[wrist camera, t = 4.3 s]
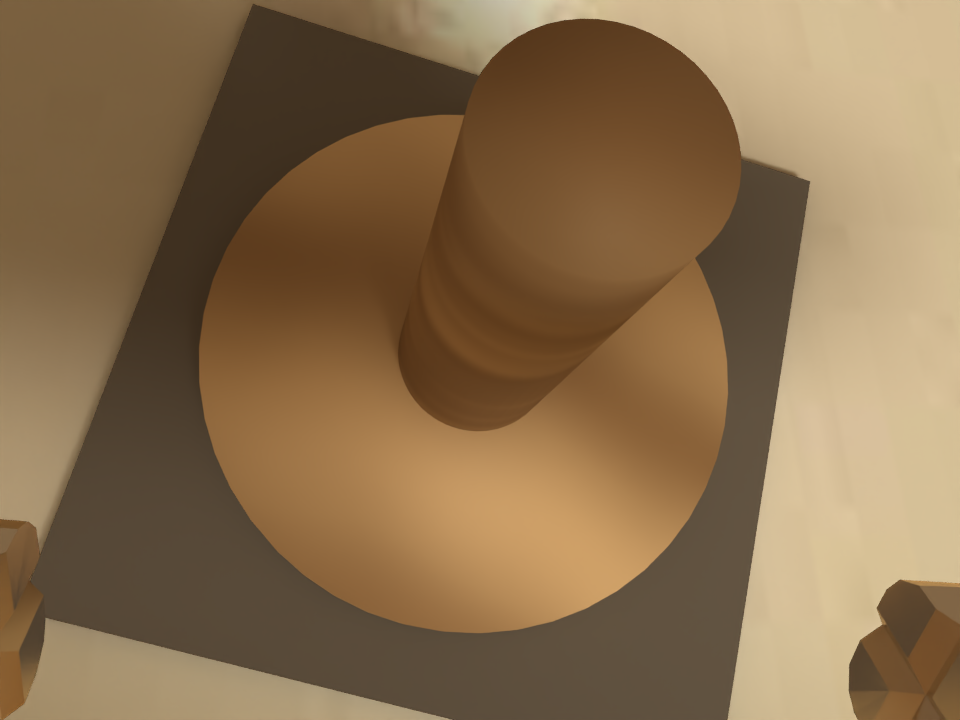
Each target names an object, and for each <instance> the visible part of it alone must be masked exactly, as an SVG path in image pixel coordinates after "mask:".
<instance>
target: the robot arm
mask: <svg viewBox="0 0 960 720" xmlns="http://www.w3.org/2000/svg"><path fill="white" fill-rule="evenodd" d="M39 558H40V553H39V546H38V539H37V532H36V528H35V527H34V526H33V525H32V524H30V523H29V522H27V521H16V520H4V519H0V720H3V719H4V718H6V717H7V716H8V715H10V714H11V713H12V712H14V711H15V710H16V709H18V708H19V707H20V706H22V705H23V704H24V703H25V701H26V698H27V696H28V693H29V691H30V688H31V686H32V683H33V681H34V678H35V676H36V672H37V668H38V664H39V660H40V655H41V651H42V647H43V642H44V630H45V605H44V595H43V594H42V593H41V592H40V591H39V590H38V589H37V588H36V587H35V586H34V585H33V584H32V583H31V582H30V581H29V579H30V577H31V575H32V573H33V571H34V569H35V567H36V564H37V562H38V560H39ZM877 611H878V613H879V616H880V619H881V622H882V625H881V626H880V627H878V628H877V629H876V630H874V631H873V632H871V633H870V634H868V635H867V636H865V637H864V638H863V639H861V640H860V642H859V644H858V646H857V649H856V651H855V653H854V655H853V658H852V660H851V662H850V664H849V694H850V698H851V702H852V706H853V710H854V713H855V715H856V717H857V719H858V720H960V583H947V582H930V581H913V580H899V581H898V582H896V583H895V584H894V585H892V586H891V587H889V588H888V589H887V590H886V592H885V594H884V596H883V597H882V599H881V601H880V603H879V605H878V607H877Z"/></svg>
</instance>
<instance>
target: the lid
mask: <svg viewBox="0 0 960 720" xmlns="http://www.w3.org/2000/svg"><path fill="white" fill-rule="evenodd" d="M740 178H741V152H740V146H739V140H738V135H737V132H736V129H735V125H734V122H733V119H732V117H731V115H730V112H729V110H728V108H727V106H726V104H725V102H724V100H723V99H722V97H721V95H720V94H719V92H718V90H717V89H716V87H715V86H714V85H713V84H712V82H711V81H710V80H709V78H708V77H707V76H706V75H705V74H704V73H703V71H702V70H701V69H700V68H699V67H698V66H697V65H696V64H695V63H694V62H693V61H691V60H690V59H689V58H688V57H687V56H686V55H684V54H683V53H682V52H681V51H679V50H678V49H676V48H675V47H673V46H672V45H670V44H669V43H667V42H666V41H664V40H662V39H660V38H658V37H656V36H654V35H653V34H651V33H648V32H646V31H643V30H641V29H638V28H636V27H633V26H629V25H625V24H622V23H618V22H613V21H606V20H599V19H574V20H564V21H559V22H554V23H550V24H546V25H543V26H541V27H538V28H535V29H532V30H530V31H528V32H526V33H525V34H523V35H521V36H519V37H517V38H516V39H514V40H513V41H511V42H510V43H509V44H507V45H506V46H504V47H503V48H502V49H501V50H500V51H499V52H498V53H497V54H496V55H495V56H494V57H493V58H492V59H491V60H490V62H489V63H488V64H487V66H486V67H485V68H484V69H483V71H482V72H481V74H480V76H479V78H478V80H477V81H476V83H475V85H474V88H473V90H472V93H471V96H470V98H469V101H468V105H467V108H466V111H465V115H433V116H424V117H415V118H407V119H403V120H398V121H394V122H390V123H386V124H381V125H377V126H374V127H371V128H369V129H366V130H363V131H361V132H358V133H355V134H353V135H350V136H347V137H345V138H343V139H341V140H339V141H337V142H335V143H333V144H332V145H330V146H328V147H326V148H324V149H322V150H320V151H318V152H316V153H315V154H314V155H312V156H311V157H309V158H308V159H307V160H305V161H304V162H302V163H301V164H299V165H298V166H297V167H295V168H294V169H292V170H291V171H290V172H289V173H287V174H286V175H285V176H284V177H283V178H282V179H281V180H280V181H279V182H278V183H277V184H276V185H274V186H273V187H272V188H271V189H270V190H269V191H268V192H267V193H266V194H265V195H264V196H263V198H262V199H261V200H260V201H259V202H258V204H257V205H256V206H255V207H254V208H253V210H252V211H251V212H250V213H249V215H248V216H247V217H246V218H245V219H244V221H243V223H242V224H241V226H240V228H239V229H238V231H237V232H236V234H235V236H234V237H233V239H232V240H231V242H230V244H229V245H228V247H227V249H226V251H225V253H224V256H223V258H222V260H221V263H220V265H219V267H218V269H217V272H216V274H215V276H214V278H213V282H212V285H211V289H210V292H209V296H208V299H207V303H206V306H205V310H204V315H203V322H202V330H201V337H200V344H199V384H200V391H201V397H202V404H203V411H204V418H205V422H206V425H207V428H208V432H209V435H210V439H211V442H212V445H213V449H214V452H215V455H216V457H217V459H218V462H219V464H220V466H221V468H222V470H223V473H224V475H225V477H226V479H227V481H228V484H229V486H230V488H231V490H232V491H233V493H234V494H235V496H236V498H237V499H238V501H239V502H240V504H241V505H242V507H243V509H244V510H245V512H246V513H247V515H248V516H249V518H250V520H251V521H252V522H253V523H254V524H255V526H256V527H257V528H258V529H259V530H260V531H261V533H262V534H263V535H264V536H265V537H266V539H267V540H268V541H269V542H270V543H271V544H272V546H273V547H274V548H275V549H276V550H277V551H278V552H279V553H280V554H281V555H282V556H283V557H284V558H285V559H286V560H288V561H289V562H290V563H291V564H292V565H293V566H294V567H295V568H296V569H298V570H299V571H300V572H301V573H302V574H303V575H304V576H306V577H307V578H309V579H310V580H312V581H313V582H315V583H316V584H317V585H319V586H320V587H322V588H323V589H325V590H326V591H328V592H329V593H331V594H332V595H334V596H335V597H337V598H339V599H342V600H344V601H346V602H348V603H350V604H352V605H354V606H356V607H358V608H360V609H362V610H364V611H366V612H368V613H371V614H374V615H377V616H380V617H383V618H386V619H389V620H392V621H395V622H398V623H401V624H405V625H410V626H416V627H421V628H426V629H432V630H437V631H443V632H463V633H489V632H500V631H510V630H519V629H523V628H527V627H532V626H536V625H540V624H544V623H548V622H553V621H555V620H558V619H560V618H563V617H566V616H568V615H571V614H573V613H576V612H578V611H581V610H583V609H586V608H588V607H590V606H591V605H593V604H595V603H597V602H599V601H600V600H602V599H604V598H606V597H607V596H609V595H611V594H613V593H615V592H616V591H618V590H619V589H620V588H622V587H623V586H624V585H626V584H627V583H628V582H630V581H631V580H632V579H634V578H635V577H636V576H638V575H639V574H640V573H641V572H643V571H644V570H645V569H646V568H647V567H648V566H649V565H650V564H651V563H652V562H653V561H654V560H655V559H656V558H657V557H658V556H659V555H660V554H661V553H662V552H663V551H664V550H665V549H666V548H667V547H668V546H669V545H670V543H671V542H672V541H673V539H674V538H675V537H676V535H677V534H678V533H679V531H680V530H681V529H682V527H683V526H684V525H685V523H686V522H687V521H688V519H689V518H690V516H691V514H692V512H693V510H694V509H695V507H696V505H697V503H698V501H699V499H700V498H701V496H702V494H703V492H704V490H705V488H706V486H707V483H708V480H709V478H710V475H711V473H712V470H713V467H714V465H715V462H716V460H717V456H718V452H719V448H720V444H721V440H722V435H723V431H724V427H725V418H726V408H727V399H728V376H727V358H726V351H725V344H724V338H723V331H722V327H721V324H720V320H719V316H718V313H717V309H716V306H715V302H714V299H713V296H712V294H711V292H710V289H709V287H708V284H707V282H706V280H705V277H704V275H703V273H702V270H701V268H700V266H699V265H698V263H697V261H696V259H695V258H696V257H697V256H698V255H699V254H700V253H701V252H702V251H703V250H704V249H705V248H706V247H707V246H708V245H710V244H711V242H712V241H713V240H714V239H715V238H716V236H717V235H718V234H719V233H720V232H721V230H722V228H723V227H724V225H725V223H726V222H727V220H728V219H729V217H730V214H731V212H732V210H733V207H734V205H735V202H736V199H737V195H738V191H739V187H740Z"/></svg>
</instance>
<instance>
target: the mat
mask: <svg viewBox="0 0 960 720" xmlns="http://www.w3.org/2000/svg"><path fill="white" fill-rule="evenodd" d="M478 78H479V76H477V75H474V74H471V73H468V72H465V71H462V70H458V69H455V68H452V67H449V66H446V65H443V64H440V63H436V62H433V61H430V60H427V59H424V58H421V57H418V56H414V55H411V54H408V53H405V52H402V51H399V50H396V49H392V48H389V47H386V46H383V45H380V44H377V43H374V42H370V41H367V40H364V39H361V38H358V37H355V36H352V35H348V34H345V33H342V32H339V31H336V30H333V29H330V28H326V27H323V26H320V25H317V24H314V23H311V22H308V21H304V20H301V19H298V18H295V17H292V16H289V15H286V14H282V13H279V12H276V11H273V10H270V9H267V8H264V7H260V6H257V5H254V4H253V6H252V8H251V11H250V13H249V16H248V19H247V21H246V24H245V26H244V29H243V32H242V34H241V37H240V39H239V42H238V45H237V47H236V50H235V52H234V55H233V57H232V60H231V63H230V65H229V68H228V70H227V73H226V76H225V78H224V81H223V83H222V86H221V89H220V91H219V94H218V96H217V99H216V102H215V104H214V107H213V109H212V112H211V114H210V117H209V120H208V122H207V125H206V127H205V130H204V133H203V135H202V138H201V140H200V143H199V146H198V148H197V151H196V153H195V156H194V159H193V161H192V164H191V166H190V169H189V171H188V174H187V177H186V179H185V182H184V184H183V187H182V190H181V192H180V195H179V197H178V200H177V203H176V205H175V208H174V210H173V213H172V216H171V218H170V221H169V223H168V226H167V228H166V231H165V234H164V236H163V239H162V241H161V244H160V247H159V249H158V252H157V254H156V257H155V260H154V262H153V265H152V267H151V270H150V272H149V275H148V278H147V280H146V283H145V285H144V288H143V291H142V293H141V296H140V298H139V301H138V304H137V306H136V309H135V311H134V314H133V317H132V319H131V322H130V324H129V327H128V329H127V332H126V335H125V337H124V340H123V342H122V345H121V348H120V350H119V353H118V355H117V358H116V361H115V363H114V366H113V368H112V371H111V374H110V376H109V379H108V381H107V384H106V386H105V389H104V392H103V394H102V397H101V399H100V402H99V405H98V407H97V410H96V412H95V415H94V418H93V420H92V423H91V425H90V428H89V431H88V433H87V436H86V438H85V441H84V443H83V446H82V449H81V451H80V454H79V456H78V459H77V462H76V464H75V467H74V469H73V472H72V475H71V477H70V480H69V482H68V485H67V488H66V490H65V493H64V495H63V498H62V500H61V503H60V506H59V508H58V511H57V513H56V516H55V519H54V521H53V524H52V526H51V529H50V532H49V534H48V537H47V539H46V542H45V545H44V547H43V550H42V552H41V555H40V558H39V560H38V563H37V565H36V568H35V570H34V573H33V576H32V578H31V581H30V582H31V583H32V584H33V585H34V586H35V587H36V588H37V589H38V590H39V591H40V592H41V593H42V594H43V595H44V605H45V618H49V619H53V620H57V621H61V622H65V623H69V624H73V625H77V626H81V627H85V628H89V629H93V630H97V631H101V632H105V633H109V634H113V635H117V636H121V637H125V638H129V639H133V640H137V641H141V642H145V643H149V644H153V645H157V646H161V647H165V648H169V649H173V650H177V651H181V652H185V653H189V654H193V655H197V656H201V657H205V658H209V659H213V660H217V661H221V662H225V663H229V664H233V665H237V666H241V667H245V668H249V669H253V670H257V671H261V672H265V673H269V674H273V675H277V676H281V677H285V678H289V679H293V680H297V681H301V682H305V683H309V684H313V685H317V686H321V687H325V688H329V689H333V690H336V691H340V692H344V693H348V694H352V695H356V696H360V697H364V698H368V699H372V700H376V701H380V702H384V703H388V704H392V705H396V706H400V707H404V708H408V709H412V710H416V711H420V712H424V713H428V714H432V715H436V716H440V717H444V718H448V719H452V720H727V719H728V712H729V706H730V699H731V693H732V686H733V680H734V673H735V667H736V660H737V654H738V647H739V641H740V634H741V628H742V621H743V615H744V608H745V602H746V595H747V589H748V582H749V576H750V569H751V563H752V556H753V549H754V543H755V536H756V530H757V523H758V517H759V510H760V504H761V497H762V491H763V484H764V478H765V471H766V465H767V458H768V452H769V445H770V439H771V432H772V426H773V419H774V413H775V406H776V400H777V393H778V387H779V380H780V374H781V367H782V361H783V354H784V347H785V341H786V334H787V328H788V321H789V315H790V308H791V302H792V295H793V289H794V282H795V276H796V269H797V263H798V256H799V250H800V243H801V237H802V230H803V224H804V217H805V211H806V204H807V198H808V191H809V185H810V181H807V180H804V179H801V178H798V177H795V176H791V175H788V174H785V173H782V172H779V171H776V170H773V169H770V168H766V167H763V166H760V165H757V164H754V163H751V162H748V161H744V160H741V178H740V187H739V191H738V195H737V199H736V202H735V205H734V207H733V210H732V212H731V214H730V217H729V219H728V220H727V222H726V223H725V225H724V227H723V228H722V230H721V232H720V233H719V234H718V235H717V236H716V238H715V239H714V240H713V241H712V242H711V244H710V245H708V246H707V247H706V248H705V249H704V250H703V251H702V252H701V253H700V254H699V255H698V256H697V257H696V258H695V259H696V261H697V263H698V265H699V266H700V268H701V270H702V273H703V275H704V277H705V280H706V282H707V284H708V287H709V289H710V292H711V294H712V296H713V299H714V302H715V306H716V309H717V313H718V316H719V320H720V324H721V327H722V331H723V338H724V344H725V351H726V358H727V376H728V399H727V408H726V418H725V427H724V431H723V435H722V440H721V444H720V448H719V452H718V456H717V460H716V462H715V465H714V467H713V470H712V473H711V475H710V478H709V480H708V483H707V486H706V488H705V490H704V492H703V494H702V496H701V498H700V499H699V501H698V503H697V505H696V507H695V509H694V510H693V512H692V514H691V516H690V518H689V519H688V521H687V522H686V523H685V525H684V526H683V527H682V529H681V530H680V531H679V533H678V534H677V535H676V537H675V538H674V539H673V541H672V542H671V543H670V545H669V546H668V547H667V548H666V549H665V550H664V551H663V552H662V553H661V554H660V555H659V556H658V557H657V558H656V559H655V560H654V561H653V562H652V563H651V564H650V565H649V566H648V567H647V568H646V569H645V570H644V571H643V572H641V573H640V574H639V575H638V576H636V577H635V578H634V579H632V580H631V581H630V582H628V583H627V584H626V585H624V586H623V587H622V588H620V589H619V590H618V591H616V592H615V593H613V594H611V595H609V596H607V597H606V598H604V599H602V600H600V601H599V602H597V603H595V604H593V605H591V606H590V607H588V608H586V609H583V610H581V611H578V612H576V613H573V614H571V615H568V616H566V617H563V618H560V619H558V620H555V621H553V622H548V623H544V624H540V625H536V626H532V627H527V628H523V629H519V630H510V631H500V632H489V633H463V632H443V631H437V630H432V629H426V628H421V627H416V626H410V625H405V624H401V623H398V622H395V621H392V620H389V619H386V618H383V617H380V616H377V615H374V614H371V613H368V612H366V611H364V610H362V609H360V608H358V607H356V606H354V605H352V604H350V603H348V602H346V601H344V600H342V599H339V598H337V597H335V596H334V595H332V594H331V593H329V592H328V591H326V590H325V589H323V588H322V587H320V586H319V585H317V584H316V583H315V582H313V581H312V580H310V579H309V578H307V577H306V576H304V575H303V574H302V573H301V572H300V571H299V570H298V569H296V568H295V567H294V566H293V565H292V564H291V563H290V562H289V561H288V560H286V559H285V558H284V557H283V556H282V555H281V554H280V553H279V552H278V551H277V550H276V549H275V548H274V547H273V546H272V544H271V543H270V542H269V541H268V540H267V539H266V537H265V536H264V535H263V534H262V533H261V531H260V530H259V529H258V528H257V527H256V526H255V524H254V523H253V522H252V521H251V520H250V518H249V516H248V515H247V513H246V512H245V510H244V509H243V507H242V505H241V504H240V502H239V501H238V499H237V498H236V496H235V494H234V493H233V491H232V490H231V488H230V486H229V484H228V481H227V479H226V477H225V475H224V473H223V470H222V468H221V466H220V464H219V462H218V459H217V457H216V455H215V452H214V449H213V445H212V442H211V439H210V435H209V432H208V428H207V425H206V422H205V418H204V411H203V404H202V397H201V391H200V384H199V344H200V337H201V330H202V322H203V315H204V310H205V306H206V303H207V299H208V296H209V292H210V289H211V285H212V282H213V278H214V276H215V274H216V272H217V269H218V267H219V265H220V263H221V260H222V258H223V256H224V253H225V251H226V249H227V247H228V245H229V244H230V242H231V240H232V239H233V237H234V236H235V234H236V232H237V231H238V229H239V228H240V226H241V224H242V223H243V221H244V219H245V218H246V217H247V216H248V215H249V213H250V212H251V211H252V210H253V208H254V207H255V206H256V205H257V204H258V202H259V201H260V200H261V199H262V198H263V196H264V195H265V194H266V193H267V192H268V191H269V190H270V189H271V188H272V187H273V186H274V185H276V184H277V183H278V182H279V181H280V180H281V179H282V178H283V177H284V176H285V175H286V174H287V173H289V172H290V171H291V170H292V169H294V168H295V167H297V166H298V165H299V164H301V163H302V162H304V161H305V160H307V159H308V158H309V157H311V156H312V155H314V154H315V153H316V152H318V151H320V150H322V149H324V148H326V147H328V146H330V145H332V144H333V143H335V142H337V141H339V140H341V139H343V138H345V137H347V136H350V135H353V134H355V133H358V132H361V131H363V130H366V129H369V128H371V127H374V126H377V125H381V124H386V123H390V122H394V121H398V120H403V119H407V118H415V117H424V116H433V115H465V111H466V108H467V105H468V101H469V98H470V96H471V93H472V90H473V88H474V85H475V83H476V81H477V80H478Z"/></svg>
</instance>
